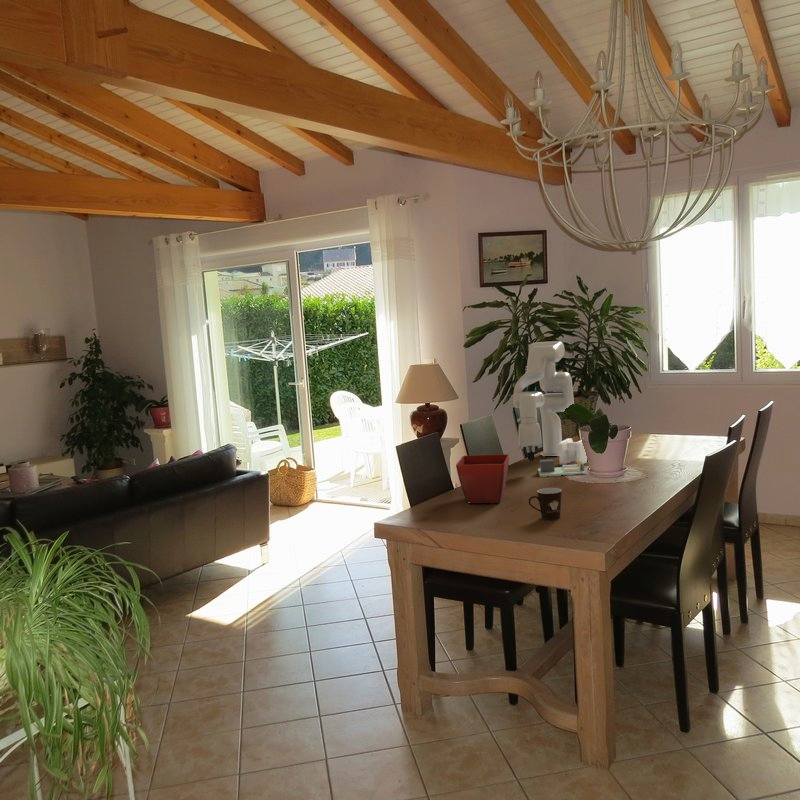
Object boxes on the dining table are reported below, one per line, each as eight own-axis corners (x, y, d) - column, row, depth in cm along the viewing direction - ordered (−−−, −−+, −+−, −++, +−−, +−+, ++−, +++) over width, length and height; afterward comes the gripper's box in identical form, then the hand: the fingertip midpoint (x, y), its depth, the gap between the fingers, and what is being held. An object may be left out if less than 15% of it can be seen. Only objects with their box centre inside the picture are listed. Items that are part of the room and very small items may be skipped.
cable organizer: (580, 467, 357) (578, 443, 356) (558, 466, 363) (557, 442, 361) (590, 461, 369) (589, 437, 368) (569, 460, 375) (568, 437, 374)
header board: (538, 470, 357) (537, 460, 357) (581, 468, 355) (581, 457, 354) (539, 477, 344) (539, 466, 343) (585, 474, 341) (584, 463, 341)
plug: (540, 470, 352) (539, 459, 352) (553, 469, 351) (553, 459, 351) (541, 472, 348) (540, 461, 348) (554, 471, 347) (553, 460, 347)
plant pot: (507, 506, 297) (504, 463, 296) (458, 506, 302) (455, 464, 300) (511, 494, 316) (509, 453, 314) (466, 495, 321) (463, 455, 319)
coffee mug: (563, 514, 279) (561, 487, 277) (563, 521, 270) (561, 493, 269) (531, 515, 281) (529, 488, 280) (529, 521, 273) (527, 494, 272)
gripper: (512, 422, 345) (514, 463, 347) (546, 420, 343) (548, 461, 345) (511, 420, 353) (514, 460, 354) (544, 418, 351) (547, 458, 352)
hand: (531, 460), depth 350 cm, fingers closed
